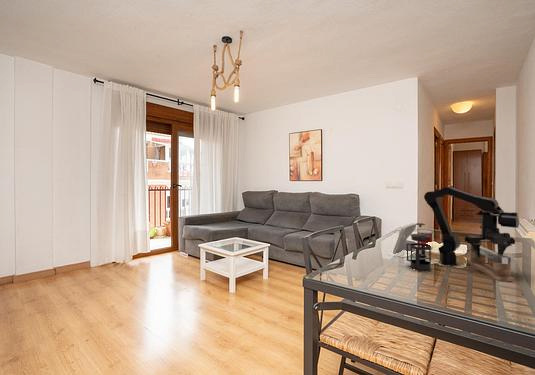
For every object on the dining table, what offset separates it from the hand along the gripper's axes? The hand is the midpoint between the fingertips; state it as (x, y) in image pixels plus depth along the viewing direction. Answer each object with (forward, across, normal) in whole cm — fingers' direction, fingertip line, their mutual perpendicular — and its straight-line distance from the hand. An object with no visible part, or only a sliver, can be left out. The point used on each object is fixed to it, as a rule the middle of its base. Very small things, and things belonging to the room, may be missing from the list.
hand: (489, 257), depth 132 cm
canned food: (+7, -13, +42) cm, 45 cm away
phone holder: (+7, -30, +30) cm, 43 cm away
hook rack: (+7, 0, 0) cm, 7 cm away
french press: (+7, -30, +3) cm, 31 cm away
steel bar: (0, 0, 0) cm, 0 cm away
